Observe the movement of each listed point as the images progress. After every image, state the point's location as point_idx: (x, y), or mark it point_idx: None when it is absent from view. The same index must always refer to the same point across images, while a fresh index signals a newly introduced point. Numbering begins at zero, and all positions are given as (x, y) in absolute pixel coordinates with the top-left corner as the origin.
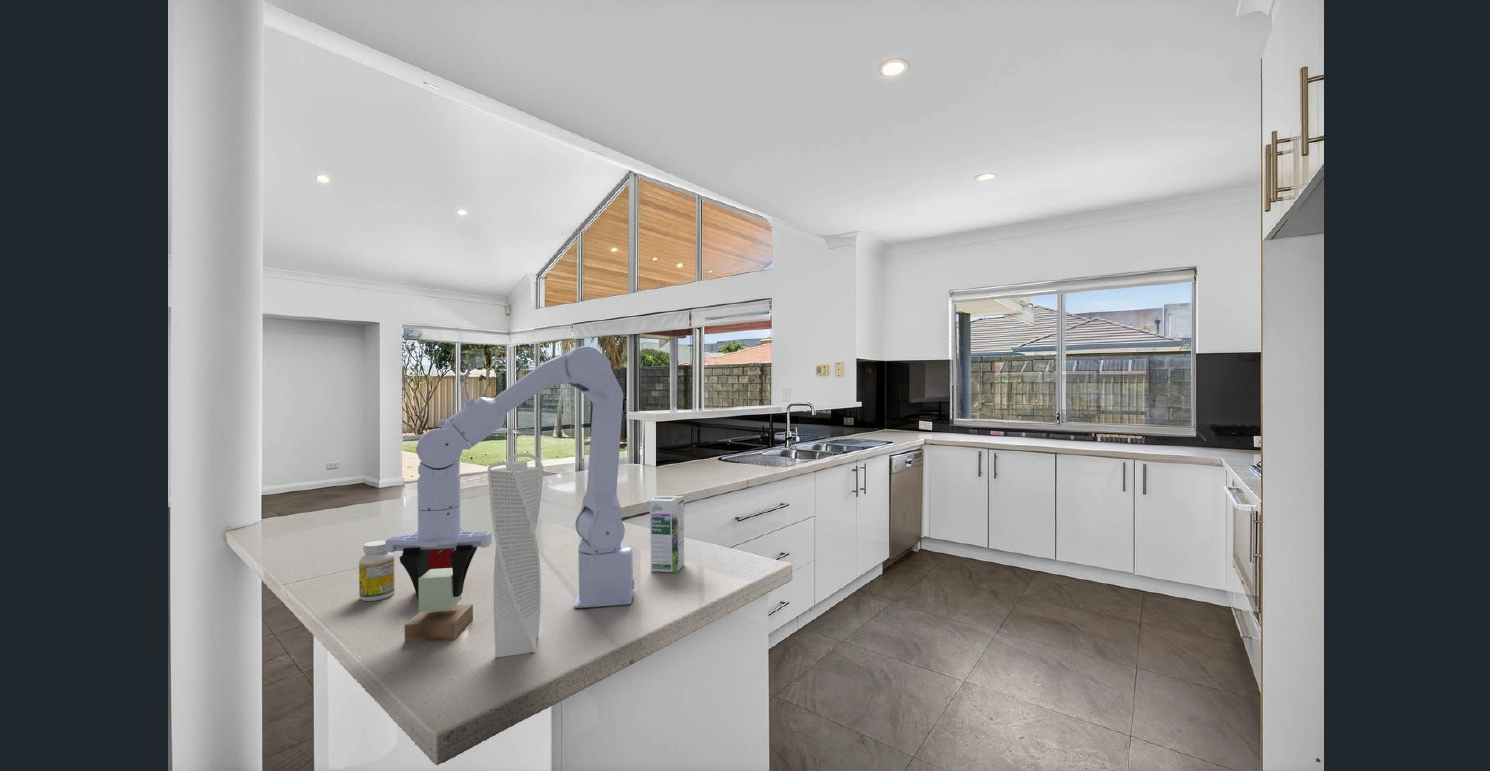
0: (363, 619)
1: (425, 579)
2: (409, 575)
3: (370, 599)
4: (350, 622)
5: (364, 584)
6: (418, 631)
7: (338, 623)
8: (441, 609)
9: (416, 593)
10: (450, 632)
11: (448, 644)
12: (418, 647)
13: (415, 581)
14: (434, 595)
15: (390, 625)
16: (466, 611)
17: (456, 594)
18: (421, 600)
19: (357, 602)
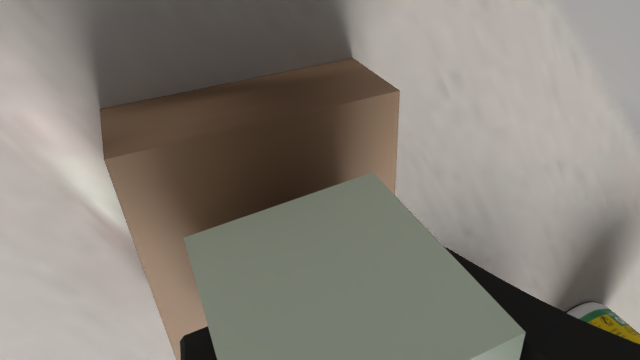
0: (565, 213)
1: (465, 348)
2: (611, 333)
3: (581, 308)
4: (593, 187)
5: (634, 337)
6: (311, 91)
7: (621, 175)
8: (246, 221)
9: (458, 255)
10: (127, 125)
11: (95, 55)
12: (253, 8)
13: (526, 311)
14: (326, 270)
15: (475, 193)
16: (157, 301)
17: (189, 345)
18: (394, 218)
19: (603, 291)
